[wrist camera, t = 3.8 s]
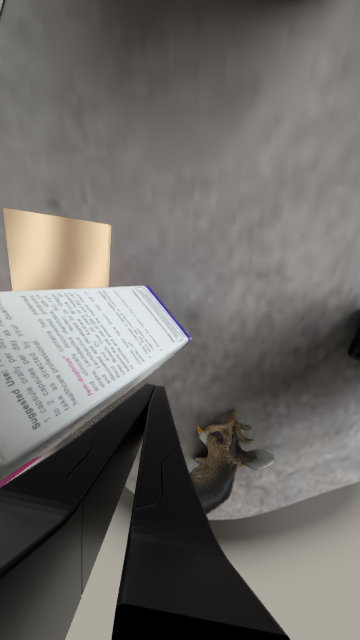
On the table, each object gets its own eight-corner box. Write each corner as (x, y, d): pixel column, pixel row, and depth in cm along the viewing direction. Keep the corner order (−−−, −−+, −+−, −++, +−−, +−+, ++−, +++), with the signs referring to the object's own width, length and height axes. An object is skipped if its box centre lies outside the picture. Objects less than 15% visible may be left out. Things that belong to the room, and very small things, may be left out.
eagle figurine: (179, 398, 18) (155, 478, 19) (233, 466, 12) (193, 578, 13) (234, 395, 22) (211, 461, 23) (295, 444, 16) (260, 531, 17)
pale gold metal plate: (111, 225, 15) (108, 224, 15) (105, 373, 19) (103, 375, 19) (7, 209, 15) (2, 207, 15) (23, 356, 20) (20, 358, 19)
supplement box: (147, 282, 15) (-102, 287, 5) (193, 338, 14) (13, 482, 4) (112, 325, 18) (-98, 387, 8) (150, 375, 17) (-28, 520, 7)
